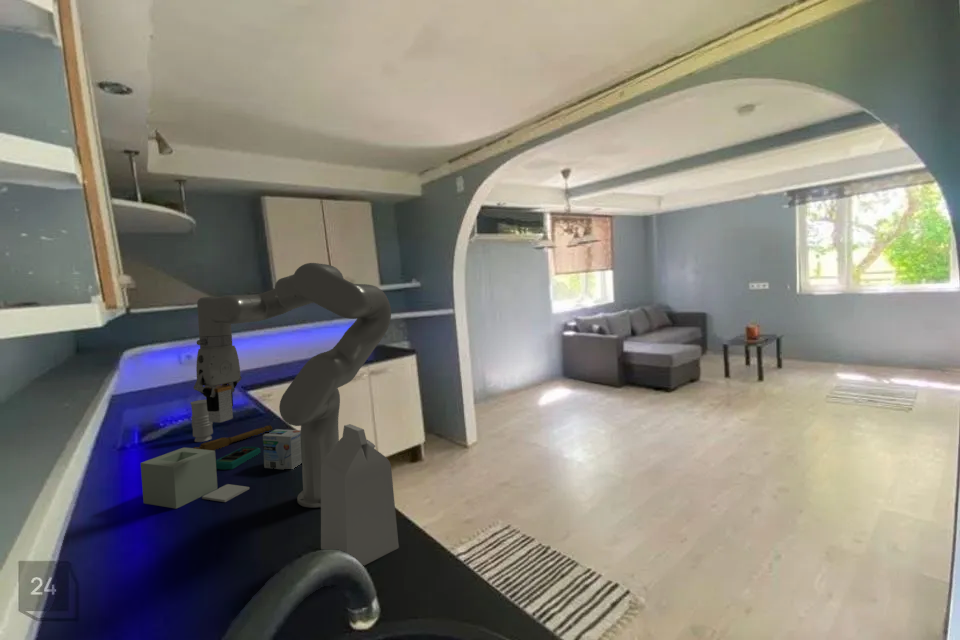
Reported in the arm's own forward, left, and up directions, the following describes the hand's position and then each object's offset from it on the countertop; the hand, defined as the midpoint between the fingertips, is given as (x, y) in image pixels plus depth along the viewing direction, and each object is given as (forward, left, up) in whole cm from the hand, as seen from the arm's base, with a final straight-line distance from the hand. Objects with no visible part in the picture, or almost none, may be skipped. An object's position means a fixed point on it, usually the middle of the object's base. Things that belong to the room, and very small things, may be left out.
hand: (220, 408), depth 118 cm
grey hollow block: (+11, +4, -24) cm, 27 cm away
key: (0, 0, -3) cm, 3 cm away
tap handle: (+35, -35, -25) cm, 55 cm away
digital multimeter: (+18, -20, -25) cm, 37 cm away
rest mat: (0, 0, -24) cm, 24 cm away
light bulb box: (-1, -21, -24) cm, 32 cm away
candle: (+51, -35, -24) cm, 66 cm away
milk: (-51, +13, -24) cm, 58 cm away
